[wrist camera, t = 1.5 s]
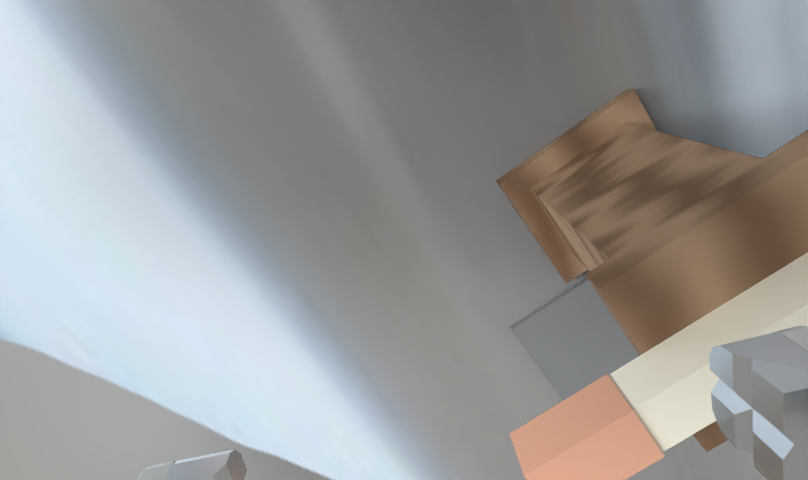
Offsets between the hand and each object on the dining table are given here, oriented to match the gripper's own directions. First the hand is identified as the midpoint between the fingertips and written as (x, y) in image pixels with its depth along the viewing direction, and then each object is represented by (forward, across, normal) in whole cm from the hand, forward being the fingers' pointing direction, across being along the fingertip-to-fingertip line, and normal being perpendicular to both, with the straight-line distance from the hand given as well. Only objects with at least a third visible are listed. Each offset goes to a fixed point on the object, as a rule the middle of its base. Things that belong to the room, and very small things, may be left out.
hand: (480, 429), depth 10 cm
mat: (+43, +20, -22) cm, 52 cm away
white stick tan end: (+17, +14, -10) cm, 24 cm away
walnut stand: (+43, +18, -9) cm, 47 cm away
